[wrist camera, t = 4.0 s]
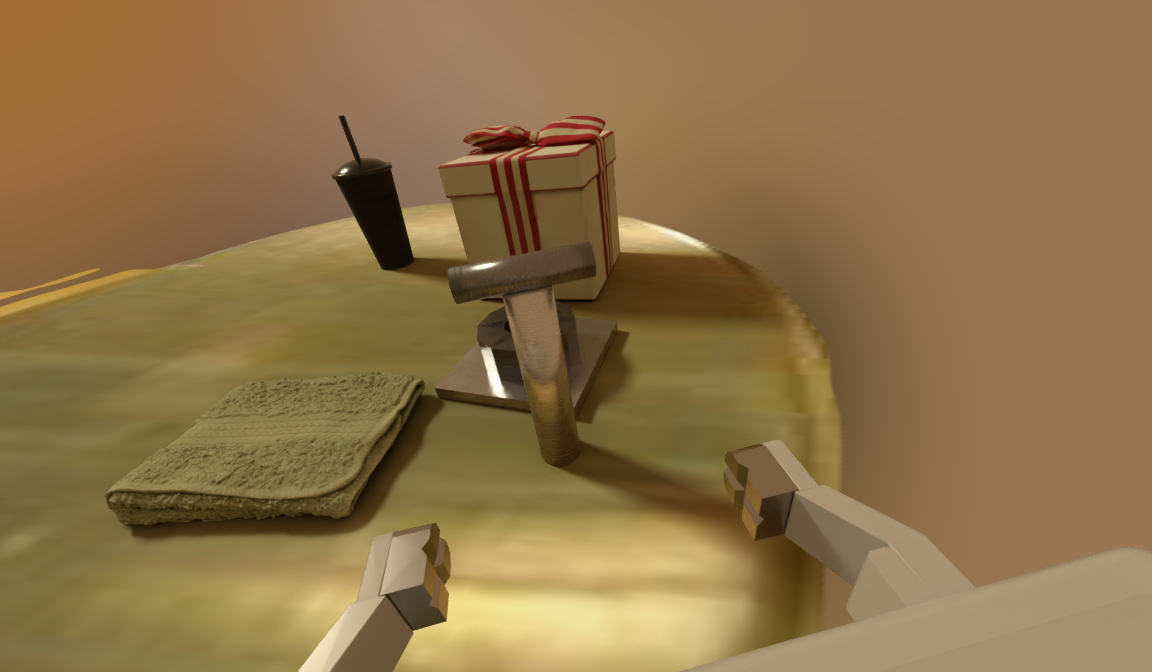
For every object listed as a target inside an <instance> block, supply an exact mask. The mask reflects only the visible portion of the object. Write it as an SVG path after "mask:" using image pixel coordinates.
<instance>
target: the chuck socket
mask: <svg viewBox="0 0 1152 672" xmlns="http://www.w3.org/2000/svg"><path fill="white" fill-rule="evenodd" d="M555 304H556V310H557V315H558V321H559V327H560V333H561V338H562V344H563V350H564V356H565V361H566V367H567V373H568V379H569V384H570V390H571V396H572V402H573V407H574V413H575V418H576V417H577V415H578V413H579V411H580V409H581V407H582V405H583V402H584V400H585V398H586V396H587V394H588V392H589V390H590V388H591V385H592V383H593V381H594V379H595V377H596V375H597V373H598V371H599V368H600V366H601V364H602V362H603V360H604V358H605V356H606V354H607V352H608V349H609V347H610V345H611V343H612V341H613V339H614V337H615V335H616V332H617V330H618V328H617V321H612V320H596V319H581V318H575V317H574V315H573V312H572V309H571V307H570V306H567V305H565V304H563V303H561V302H558V301H556V300H555ZM477 339H478V342H477V343H476V344H475V345H474V346H473V347H472V348H471V349H470V350H469V351H468V352H467V353H466V355H465V356H464V357H463V358H462V359H461V360H460V361H459V362H458V363H457V364H456V365H455V366H454V368H453V369H452V370H451V371H450V372H449V373H448V374H447V375H446V376H445V377H444V378H443V379H442V380H441V382H440V383H439V384H438V385H437V386H436V387H435V390H436V393H437V395H438V397H439V398H446V399H452V400H459V401H465V402H472V403H478V404H485V405H491V406H498V407H504V408H511V409H517V410H524V411H530V412H531V410H530V406H529V402H528V398H527V393H526V389H525V385H524V381H523V377H522V373H521V369H520V365H519V361H518V357H517V353H516V349H515V345H514V341H513V337H512V333H511V329H510V325H509V321H508V317H507V313H506V309H505V306H504V307H502V308H500V309H498V310H496V311H494V312H492V313H490V314H489V315H488V316H487V317H486V318H485V319H484V320H483V321H482V322H481V323H480V324H479V325H478V334H477Z"/></svg>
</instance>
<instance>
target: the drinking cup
mask: <svg viewBox="0 0 1152 672" xmlns="http://www.w3.org/2000/svg"><path fill="white" fill-rule="evenodd" d="M339 119H340V121H341V124H342V127H343V129H344V132H345V134H346V137H347V140H348V142H349V145H350V147H351V149H352V152H353V155H354V157H355V160H352V161H350V162H347V163H345V164H344V165H342V166H341V167H340V168H339V169H338V170H337V171H336V172H335V173H333V174H332V175H331V176H332V178H333V179H334V180H336V182H337V184H338V186H339V187H340V189H341V191H342V193H343V195H344V197H345V199H346V201H347V203H348V204H349V207H350V208H351V211H352V212H353V214H354V216H355V218H356V220H357V222H358V224H359V226H360V228H361V230H362V232H363V234H364V236H365V237H366V239H367V241H368V243H369V245H370V247H371V249H372V251H373V253H374V255H375V257H376V259H377V261H378V263H379V264H380V266H381V268H382V269H384V270H392V269H397V268H401V267H404V266H406V265H408V264H410V263H412V262H413V260H414V258H413V254H412V250H411V246H410V242H409V238H408V235H407V231H406V227H405V223H404V219H403V215H402V211H401V207H400V204H399V200H398V195H397V192H396V188H395V184H394V180H393V176H392V172H391V168H392V165H391V163H389V162H384V161H381V160H378V159H372V158H360V156H359V153H358V150H357V148H356V145H355V142H354V140H353V137H352V135H351V132H350V129H349V127H348V124H347V122H346V119H345V116H344V115H343V116H339Z"/></svg>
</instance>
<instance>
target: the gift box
mask: <svg viewBox="0 0 1152 672" xmlns="http://www.w3.org/2000/svg"><path fill="white" fill-rule="evenodd" d="M604 125H605V121H603V120H601V119H599V118H596V117H590V116H572V117H568V118H565V119H563V120H560V121H554V122H552V123H550V124H549V125H547V126H546V127H545V128H542V129H541V130H540V132H536V131H526V130H524V129H522V128H520V127H517V126H491V127H487V128H483V129H479V130H477V131H475V132H473V133H471V134H469V135H468V136H466V137H465V138H464V142H465V143H468V144H472V143H474V144H473V145H471V146H474V147H481V148H480V149H475V150H472V151H470V153H471V154H469V155H467V156H465V157H462V158H459V159H456V160H454V161H451V162H449V163H446V164H443V165H441V166H440V167H439V168H438V169H439V173H440V177H441V180H442V184H443V187H444V191H445V195H446V197H447V198H451V202H452V205H453V209H454V212H455V216H456V220H457V223H458V227H459V230H460V234H461V238H462V242H463V245H464V248H465V252H466V256H467V259H468V263H469V264H471V263H476V262H482V261H487V260H492V259H498V258H503V257H508V256H513V255H519V254H524V253H529V252H535V251H540V250H545V249H551V248H556V247H561V246H566V245H572V244H577V243H582V242H588V241H589V242H590V243H591V245H592V248H593V252H594V257H595V263H596V277H592V278H587V279H582V280H577V281H572V282H567V283H562V284H556V285H552V286H553V292H554V298H555V300H594V299H595V298H596V297H597V296H598V294H599V292H600V290H601V288H602V286H603V284H604V283H605V281H606V279H607V277H608V276H609V274H610V272H611V270H612V268H613V265H614V263H615V262H616V260H617V258H618V256H619V254H620V243H619V230H618V217H617V204H616V191H615V177H614V164H613V163H614V162H613V161H614V160H615V159H616V153H615V141H614V132H613V131H602V130H603V127H604ZM476 142H477V143H476ZM485 299H503V297H502V295H501V296H496V297H491V298H485Z"/></svg>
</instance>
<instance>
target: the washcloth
mask: <svg viewBox="0 0 1152 672" xmlns="http://www.w3.org/2000/svg"><path fill="white" fill-rule="evenodd" d="M424 389H425V383H424V381H423V380H422V379H416V378H414V377H413V376H412V375H407V376H405V375H396V374H395V375H394V374H388V373H383V374H381V373H380V372H376V373H375V372H373V373H372V372H371V373H367V374H358V375H355V374H353V375H349V376H338V377H336V376H332V377H331V378H328V377H323V378H317V379H299V380H295V379H289V378H283V379H281V380H274V381H273V380H268V381H264V382H262V381H253V382H249V383H247V384H246V385H241V386H239V387H236V388H235V389H234V390H232V391H230V392H229V393H228V394H226V395H225V396H223V397H222V398H221V399H220V400H219V401H218V402H216V403H215V404H214V405H213V406H212V407H211V410H207V411H206V412H205V414H204V415H202V416H201V417H200V418H198V419H197V420H195V421H194V422H193V424H192V428H191V429H189V430H188V431H187V432H186V433H184V434H183V435H182V436H180V437H179V438H178V439H177V440H176V441H174V442H173V443H171V444H170V445H169V446H167V447H166V448H162V449H160V450H158V451H157V452H155V453H154V454H153V455H151V456H150V457H149V458H148V459H146V460H145V461H144V462H143V463H141V465H140V466H139V467H137V468H135V469H134V470H132V471H131V472H130V473H129V474H127V475H126V476H125V477H123V478H122V479H121V480H119V481H118V482H117V483H116V484H114V485H113V486H112V487H111V489H110V490H109V491H108V492H107V493H106V501H107V504H108V506H109V508H110V509H111V510H113V511H114V512H115V514H116V516H117V517H118V519H119V521H120V522H121V523H123V524H135V525H141V524H144V525H151V524H156V523H158V522H167V521H168V522H190V521H194V520H197V519H199V520H202V521H203V522H208V521H223V520H226V519H234V518H239V517H244V518H245V519H248V518H253V517H255V516H256V519H257V520H260V519H261V518H263V519H264V518H268V517H269V516H271V517H272V518H275V516H279V515H281V514H285V515H286V516H290V517H294V516H297V515H299V516H301V515H302V514H305V513H308V514H309V513H312V514H313V515H315V516H320V515H325V516H328V515H329V516H331V517H333V518H335V519H338V518H340V517H344V516H348V515H350V514H351V512H352V510H354V505H355V502H356V501H357V499H358V497H359V495H360V493H361V492H362V490H363V488H364V486H365V485H366V483H367V481H368V478H369V476H370V475H371V474H372V473H373V470H374V469H375V468H376V466H377V465H378V463H379V462H380V461H381V460H382V458H383V456H384V455H385V453H386V452H387V450H388V449H389V447H391V446H393V441H394V440H395V439H396V437H397V435H398V434H399V432H400V430H401V428H402V427H403V425H404V424H405V422H406V420H407V418H408V416H409V414H410V412H411V410H412V408H413V406H414V404H415V402H416V400H417V399H418V397H419V396H420V394H421V393H422V392H423V390H424Z"/></svg>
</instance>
